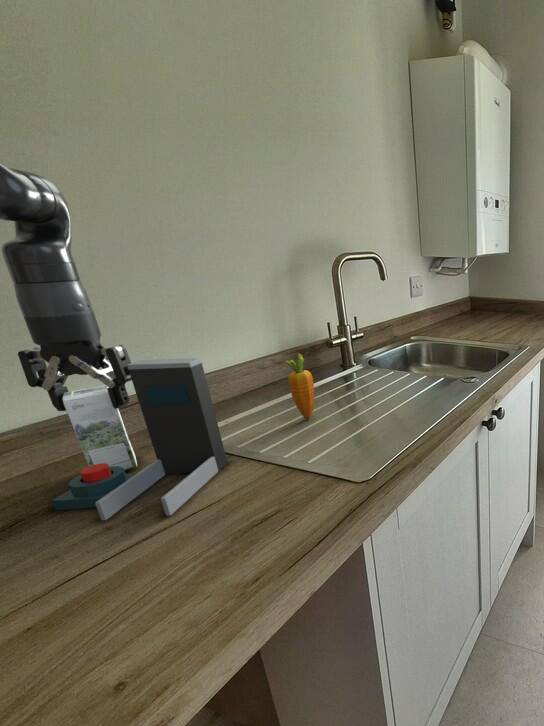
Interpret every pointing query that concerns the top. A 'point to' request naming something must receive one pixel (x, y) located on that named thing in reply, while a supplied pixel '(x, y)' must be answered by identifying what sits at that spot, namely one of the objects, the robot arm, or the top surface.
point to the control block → (90, 490)
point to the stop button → (95, 472)
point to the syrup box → (99, 428)
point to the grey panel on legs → (172, 432)
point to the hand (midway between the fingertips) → (93, 408)
